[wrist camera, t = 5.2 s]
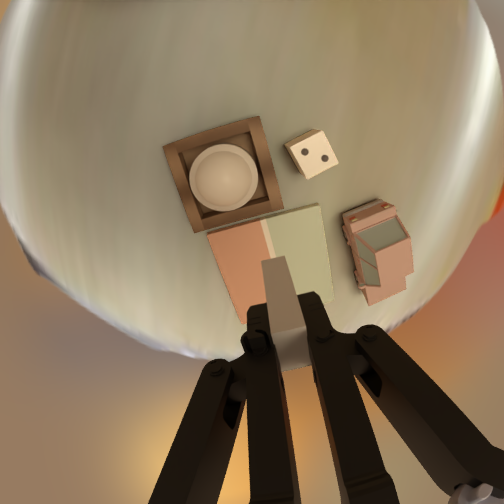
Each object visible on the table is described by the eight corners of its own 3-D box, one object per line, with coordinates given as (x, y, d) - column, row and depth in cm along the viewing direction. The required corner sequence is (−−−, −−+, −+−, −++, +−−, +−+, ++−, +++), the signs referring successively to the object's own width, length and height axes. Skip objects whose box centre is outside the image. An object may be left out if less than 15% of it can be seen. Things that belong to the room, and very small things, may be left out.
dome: (186, 153, 32) (173, 161, 26) (246, 135, 32) (248, 137, 26) (205, 210, 36) (198, 228, 30) (263, 193, 35) (268, 209, 29)
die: (284, 144, 33) (290, 147, 29) (313, 129, 32) (323, 130, 28) (299, 172, 35) (308, 180, 31) (327, 157, 34) (339, 163, 30)
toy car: (352, 292, 45) (373, 331, 36) (330, 214, 38) (355, 244, 29) (398, 271, 43) (426, 305, 34) (384, 192, 37) (421, 215, 28)
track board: (207, 232, 38) (206, 235, 38) (317, 202, 37) (319, 205, 36) (241, 320, 46) (241, 324, 45) (332, 297, 45) (334, 300, 44)
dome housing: (168, 144, 32) (162, 146, 30) (257, 116, 31) (259, 115, 29) (197, 224, 38) (194, 233, 35) (280, 201, 37) (284, 208, 34)
